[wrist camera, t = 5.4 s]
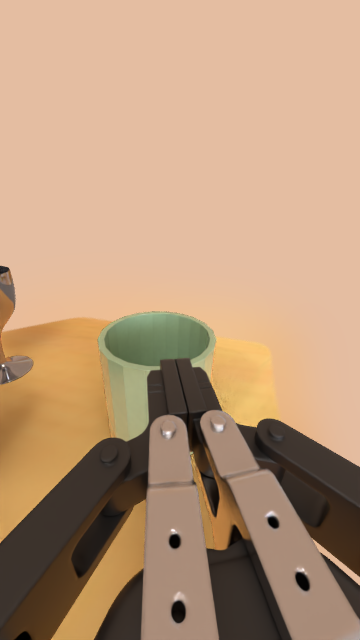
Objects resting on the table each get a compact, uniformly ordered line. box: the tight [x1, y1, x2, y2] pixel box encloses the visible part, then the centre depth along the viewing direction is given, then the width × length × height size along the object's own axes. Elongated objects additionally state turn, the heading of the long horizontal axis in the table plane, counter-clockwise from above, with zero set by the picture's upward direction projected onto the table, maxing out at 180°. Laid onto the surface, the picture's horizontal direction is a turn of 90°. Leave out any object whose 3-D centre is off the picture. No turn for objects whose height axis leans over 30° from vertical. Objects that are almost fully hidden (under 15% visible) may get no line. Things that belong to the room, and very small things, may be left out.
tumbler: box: [98, 311, 216, 455], centre depth 25 cm, size 11×11×12 cm
